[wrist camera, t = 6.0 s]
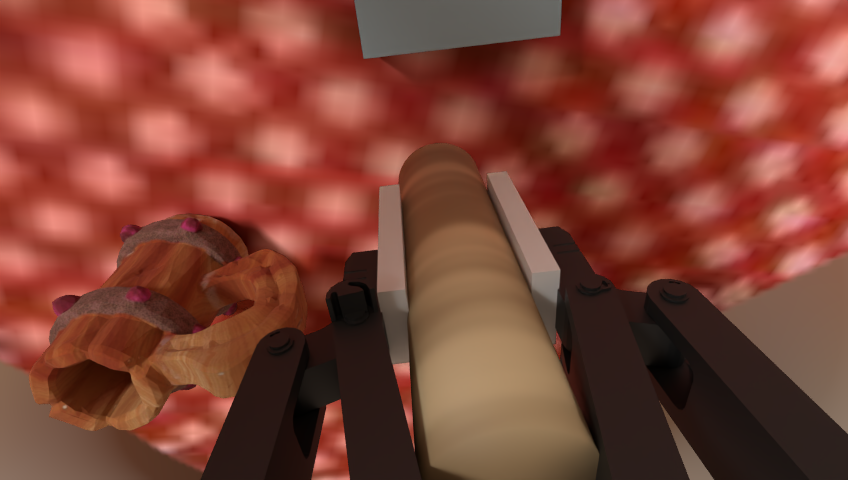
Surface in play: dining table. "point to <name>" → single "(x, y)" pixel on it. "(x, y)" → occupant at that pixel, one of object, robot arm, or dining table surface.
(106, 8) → the dining table surface
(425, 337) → the dowel long
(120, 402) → the mug
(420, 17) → the hole block
